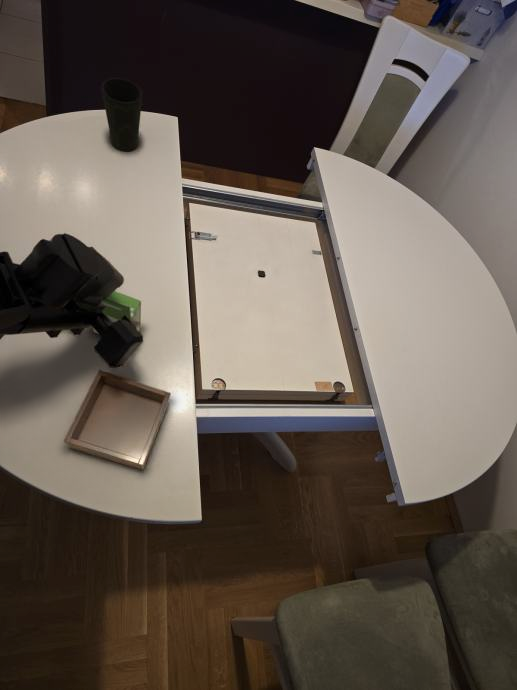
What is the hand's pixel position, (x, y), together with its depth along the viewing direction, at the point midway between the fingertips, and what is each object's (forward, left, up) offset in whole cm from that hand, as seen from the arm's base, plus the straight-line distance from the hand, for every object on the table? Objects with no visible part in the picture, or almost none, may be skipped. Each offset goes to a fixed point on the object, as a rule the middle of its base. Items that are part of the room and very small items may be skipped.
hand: (122, 307), depth 63 cm
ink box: (-1, -1, -7) cm, 7 cm away
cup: (-18, +43, -7) cm, 47 cm away
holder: (+6, -16, -7) cm, 19 cm away
